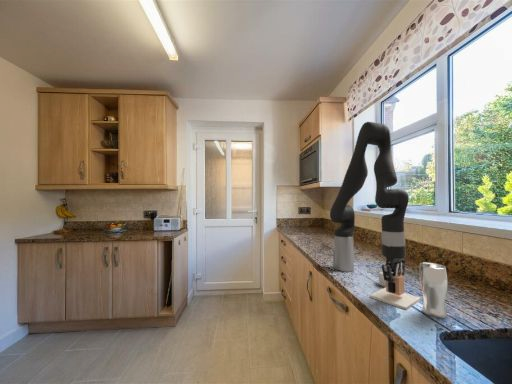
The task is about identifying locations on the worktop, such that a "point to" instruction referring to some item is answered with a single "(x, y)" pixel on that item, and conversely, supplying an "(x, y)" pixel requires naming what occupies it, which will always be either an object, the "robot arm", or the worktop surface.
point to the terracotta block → (398, 285)
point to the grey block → (381, 279)
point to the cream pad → (396, 299)
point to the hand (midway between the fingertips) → (395, 290)
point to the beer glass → (433, 289)
